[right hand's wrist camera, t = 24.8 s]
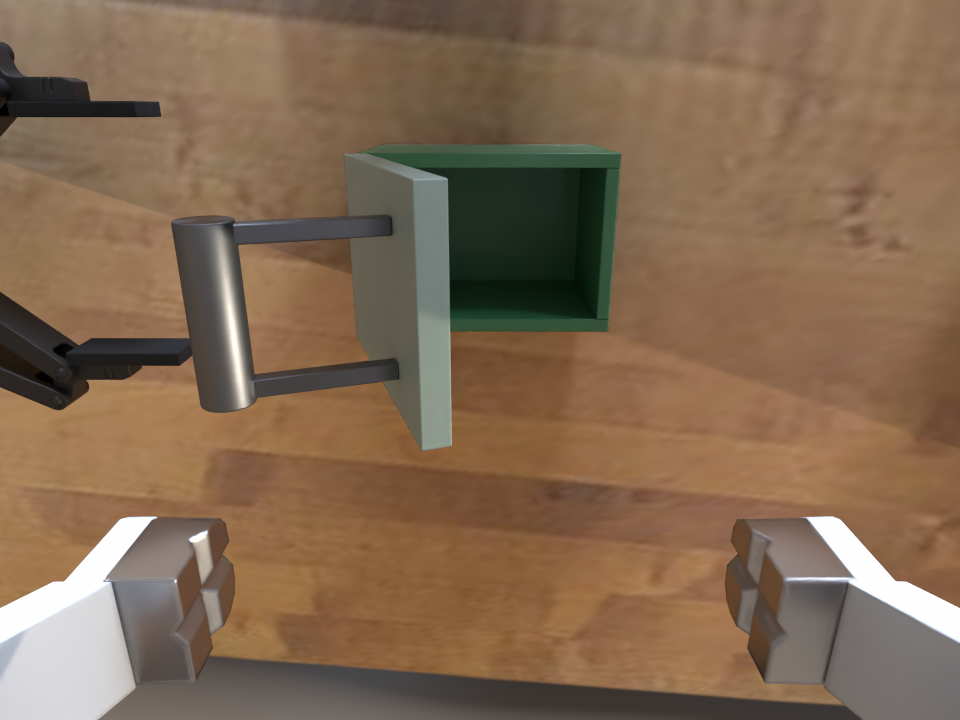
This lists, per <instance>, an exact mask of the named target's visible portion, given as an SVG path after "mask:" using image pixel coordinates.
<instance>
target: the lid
mask: <svg viewBox="0 0 960 720" xmlns="http://www.w3.org/2000/svg"><path fill="white" fill-rule="evenodd" d="M344 160H345V175H346V190H347V205H348V216H342V217H321V218H300V219H279V220H258V221H237V222H235V220H234V218H232V217H228V216H194V217H186V218H180V219H176V220H174V221H172V222H171V225H172V232H173V238H174V244H175V250H176V256H177V262H178V269H179V275H180V281H181V287H182V293H183V299H184V306H185V312H186V318H187V324H188V330H189V337H190V343H191V349H192V355H193V361H194V367H195V374H196V380H197V386H198V392H199V398H200V404H201V407H202V408H203V409H204V410H206V411H209V412H216V413H224V412H233V411H238V410H241V409H244V408H247V407H249V406H251V405H252V404H254V403H255V402H256V400H257V398H259V397H267V396H274V395H282V394H290V393H298V392H306V391H313V390H321V389H329V388H337V387H345V386H352V385H360V384H368V383H376V382H383V384H384V385H385V387H386V389H387V391H388V392H389V394H390V396H391V398H392V400H393V401H394V403H395V405H396V407H397V408H398V410H399V412H400V414H401V415H402V417H403V419H404V421H405V423H406V424H407V426H408V428H409V430H410V431H411V433H412V435H413V437H414V439H415V440H416V442H417V444H418V446H419V447H420V449H421V451H425V450H431V449H437V448H443V447H449V446H451V445H452V423H451V357H450V291H449V225H448V179H447V178H445V177H441V176H438V175H435V174H432V173H428V172H425V171H422V170H419V169H415V168H412V167H409V166H406V165H402V164H399V163H396V162H393V161H389V160H386V159H383V158H380V157H376V156H373V155H370V154H367V153H364V154H344ZM348 238H350V249H351V264H352V278H353V293H354V308H355V322H356V336H357V338H358V339H359V341H360V343H361V345H362V346H363V348H364V350H365V352H366V353H367V355H368V357H369V359H370V361H364V362H355V363H347V364H338V365H330V366H321V367H313V368H304V369H296V370H287V371H279V372H270V373H261V374H254V366H253V358H252V350H251V342H250V335H249V327H248V319H247V311H246V303H245V296H244V288H243V280H242V272H241V264H240V257H239V249H238V245H245V244H262V243H279V242H296V241H313V240H330V239H348Z"/></svg>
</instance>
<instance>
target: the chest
mask: <svg viewBox="0 0 960 720" xmlns="http://www.w3.org/2000/svg"><path fill="white" fill-rule="evenodd" d="M364 153H367V154H370V155H373V156H376V157H380V158H383V159H386V160H389V161H393V162H396V163H399V164H402V165H406V166H409V167H412V168H415V169H419V170H422V171H425V172H428V173H432V174H435V175H438V176H441V177H445V178H447V179H448V225H449V291H450V331H577V332H607V331H608V328H609V314H610V301H611V287H612V274H613V260H614V246H615V233H616V219H617V206H618V192H619V178H620V166H621V153H618V152H615V151H611V150H608V149H604V148H601V147H598V146H594V145H592V144H382V145H381V146H378V147H375V148H372V149H369V150H366V151H363V152H360V153H358V154H364Z"/></svg>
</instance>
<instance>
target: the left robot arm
mask: <svg viewBox="0 0 960 720" xmlns="http://www.w3.org/2000/svg"><path fill="white" fill-rule="evenodd" d="M17 117H161V112H160V106H159V102H141V101H90V96H89V91H88V86H87V82H85V81H82V80H80V79H77V78H66V77H26V76H24V75H23V74H21V73H20V72H19V71H18V69H17V68H16V66H15V64H14V52H13V50H12V48H11V47H10V46H9V45H7V44H6V43H4V42H0V136H1V135H2V134H3V133H4V132H5V131H6V130H7V128H8V127H9V126H10V125H11V124H12V123H13V122H14V120H15V119H16V118H17ZM191 356H192V349H191V343H190V339H187V338H91V339H90V340H88V341H86V342H84V343H83V344H81V345H78V344H76V343H75V342H73V341H72V340H70V339H69V338H67V337H66V336H64V335H63V334H61V333H60V332H58V331H57V330H55V329H54V328H53V327H51V326H50V325H48V324H47V323H45V322H44V321H42V320H41V319H39V318H38V317H36V316H35V315H33V314H32V313H30V312H29V311H28V310H26V309H25V308H23V307H22V306H20V305H19V304H17V303H16V302H14V301H13V300H11V299H10V298H8V297H7V296H5V295H4V294H2V293H1V292H0V387H1V388H4V389H6V390H8V391H11V392H13V393H16V394H18V395H21V396H23V397H25V398H28V399H30V400H33V401H35V402H38V403H40V404H43V405H45V406H47V407H50V408H52V409H55V410H62V409H64V408H65V407H67V406H68V405H70V404H71V403H73V402H74V401H75V400H77V399H78V398H80V397H81V396H82V395H84V394H85V393H87V392H88V390H89V384H88V382H87V381H86V380H106V379H107V380H113V379H114V380H123V379H126V378H128V377H131V376H132V375H133V374H135V373H136V372H137V371H139V370H140V369H141V368H142V366H180V365H181V364H182V363H184V362H185V361H186V360H187V359H188V358H190V357H191Z"/></svg>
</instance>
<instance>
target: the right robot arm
mask: <svg viewBox="0 0 960 720" xmlns="http://www.w3.org/2000/svg"><path fill="white" fill-rule="evenodd" d="M731 542H732V544H733V546H734V548H735V549H736V551H737V553H738V554H737V555H736V556H735V557H734V558H733V559H732V560H731V561H730V562H729V563H728V564H727V570H726V578H725V589H726V600H727V604H728V607H729V611H730V614H731V616H732V618H733V620H734V622H735V624H736V626H737V627H738V628H740V629H741V630H743V631H744V632H746V633H747V634H748V635H749V641H748V647H747V649H748V651H749V652H750V654H751V656H752V658H753V660H754V662H755V664H756V666H757V668H758V670H759V672H760V674H761V676H762V678H763V680H764V682H765V683H778V684H814V685H824V688H825V689H826V690H827V691H829V692H830V693H831V694H832V695H833V696H835V697H836V698H837V699H838V700H839V701H841V702H842V703H843V704H844V705H845V706H846V707H848V708H849V709H850V710H851V711H852V712H854V713H855V714H856V715H857V716H858V717H860V718H861V719H862V720H960V608H958V607H956V606H954V605H952V604H950V603H948V602H946V601H944V600H942V599H940V598H938V597H936V596H934V595H932V594H930V593H928V592H926V591H924V590H922V589H920V588H918V587H916V586H914V585H912V584H910V583H908V582H896V581H895V580H894V579H893V578H892V577H891V576H890V575H889V574H888V572H887V571H886V570H885V569H884V568H883V567H882V566H881V565H880V563H879V562H878V561H877V560H876V559H875V558H874V557H873V556H872V555H871V553H870V552H869V551H868V550H867V549H866V548H865V547H864V546H863V545H862V543H861V542H860V541H859V540H858V539H857V538H856V537H855V536H854V534H853V533H852V532H851V531H850V530H849V529H848V528H847V527H846V526H845V524H844V523H843V522H842V521H841V520H839V519H837V518H835V517H833V516H829V517H801V518H774V519H737V521H736V523H735V525H734V527H733V532H732V537H731ZM228 543H229V538H228V533H227V528H226V523H225V522H224V521H222V520H221V519H220V518H185V517H158V518H157V517H127V518H123V519H120V520H119V521H118V522H117V523H116V524H115V526H114V527H113V528H112V529H111V530H110V531H109V532H108V533H107V534H106V536H105V537H104V538H103V539H102V540H101V541H100V542H99V543H98V545H97V546H96V547H95V548H94V549H93V550H92V551H91V552H90V553H89V555H88V556H87V557H86V558H85V559H84V560H83V561H82V562H81V563H80V565H79V566H78V567H77V568H76V569H75V570H74V571H73V572H72V574H71V575H70V576H69V577H68V578H67V579H66V580H65V581H64V582H52V583H50V584H48V585H46V586H44V587H42V588H40V589H38V590H36V591H34V592H32V593H30V594H28V595H26V596H24V597H22V598H20V599H18V600H16V601H14V602H12V603H10V604H8V605H6V606H4V607H2V608H0V720H98V719H99V718H101V717H102V716H103V715H104V714H105V713H107V712H108V711H109V710H110V709H111V708H113V707H114V706H115V705H116V704H117V703H118V702H120V701H121V700H122V699H123V698H125V697H126V696H127V695H128V694H129V693H131V692H132V691H133V690H134V689H135V688H136V685H145V684H180V683H195V682H196V680H197V678H198V676H199V674H200V672H201V670H202V668H203V666H204V664H205V662H206V660H207V658H208V656H209V654H210V652H211V651H212V649H213V647H212V641H211V635H212V634H213V633H214V632H216V631H217V630H219V629H220V628H222V627H223V626H224V624H225V622H226V620H227V618H228V616H229V614H230V612H231V607H232V603H233V598H234V594H235V576H234V569H233V564H232V563H231V562H230V561H229V560H228V559H227V558H226V557H225V556H224V555H223V554H222V553H223V551H224V550H225V548H226V546H227V544H228Z"/></svg>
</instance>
